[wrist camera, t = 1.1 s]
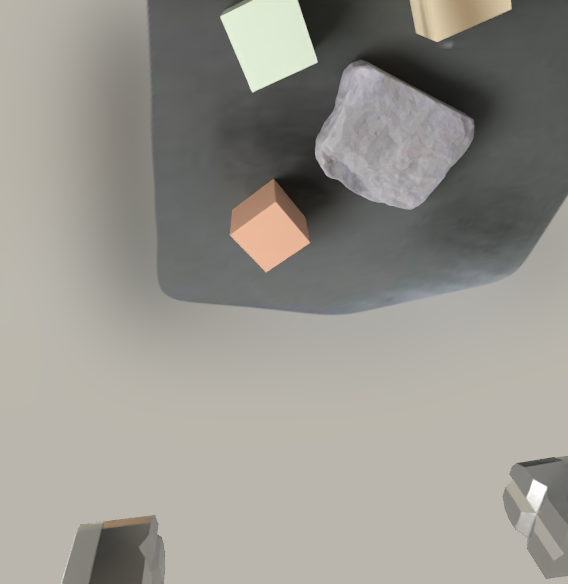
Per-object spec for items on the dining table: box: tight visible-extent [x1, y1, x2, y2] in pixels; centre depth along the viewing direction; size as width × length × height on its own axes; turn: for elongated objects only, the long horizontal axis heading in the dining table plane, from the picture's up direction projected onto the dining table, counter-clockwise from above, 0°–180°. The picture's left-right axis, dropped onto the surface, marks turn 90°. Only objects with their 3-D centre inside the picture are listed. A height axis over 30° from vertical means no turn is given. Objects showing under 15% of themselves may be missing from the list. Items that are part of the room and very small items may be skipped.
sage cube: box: [220, 0, 318, 92], centre depth 32 cm, size 5×5×5 cm
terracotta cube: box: [230, 179, 310, 272], centre depth 41 cm, size 5×5×5 cm
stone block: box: [315, 59, 475, 209], centre depth 38 cm, size 12×5×10 cm
